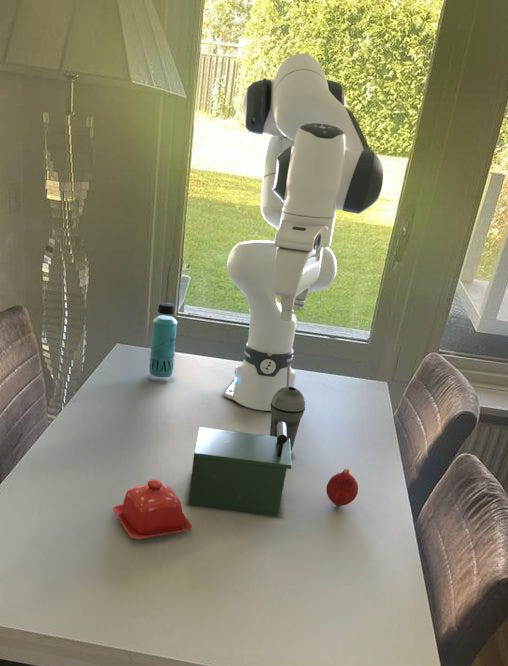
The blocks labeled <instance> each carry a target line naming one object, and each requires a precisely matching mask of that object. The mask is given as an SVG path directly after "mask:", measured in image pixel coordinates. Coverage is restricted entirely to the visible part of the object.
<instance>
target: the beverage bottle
mask: <svg viewBox="0 0 508 666" xmlns="http://www.w3.org/2000/svg"><path fill="white" fill-rule="evenodd" d="M157 312H158V313H159V314H162V315H157V316H156V317H155V318H154V319H153V320H152V335H151V348H150V354H149V355H150V357H149V368H148V371H149V375H150V376H153V377H155V378H170V377H172V376H173V373H174V370H175V369H174V368H175V365H174V364H175V356H176V355H175V350H176V345H177V344H176V343H177V342H176V341H177V325H178V321H177V320H176V319H175V318H174V317H173V316H171V315H173V314H174V315H175V304H173V303H170V302H160V303H159V304H158V308H157Z"/></svg>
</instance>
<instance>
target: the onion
mask: <svg viewBox="0 0 508 666" xmlns="http://www.w3.org/2000/svg"><path fill="white" fill-rule="evenodd" d="M325 491H326V494H327V498H328V499H329V500H330V502H332V503H333V505H334V506H336V507H343V506H347V505H349V504H351V503H352V502H353V501H355V499H356V498H357V495H358V492H359V485H358V482H357V480H356V478H355V477H354V476H353V475H352V474H351V473H350V469H349V468H348V467H345V468H343V471H341V472H338V473H336V474H334V475H332V476H331V478H329V480H328V482H327V484H326V490H325Z"/></svg>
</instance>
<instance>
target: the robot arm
mask: <svg viewBox="0 0 508 666" xmlns="http://www.w3.org/2000/svg"><path fill="white" fill-rule="evenodd" d="M244 93H245V94H244V96H243V99H242V103H241V117H242V120H243V123H244V127H245V129H246V130H247V132H248V133H250V134H253V135H255V136H260V137H262V136H263V135H265V136H269V138H268V141H267V145H266V149H265V155H264V160H263V169H262V178H261V180H262V181H261V182H262V183H261V201H260V203H261V204H260V211H261V215H262V217H263V219H264V220H265V221H266V222H267V223H268V224H269V225H271V226H272V227H273V228H276V229H277V231H276V233H275V235H274V240H273V241H272V240H259V239H257V240H249V241H242V242H238V243H237V244H236V245H234V246H233V248H232V249H231V251H230V252H229V255H228V258H227V264H226V267H227V274H228V277H229V278H230V281H231V282H232V283H233V284H234V285H235V287H237V288H238V290H239V291H240V292H241V293H242V295H243V296H244V298H245V300H246V302H247V305H248V309H249V327H248V328H249V329H248V336H247V342H246V344H245V348H244V350H243V361H242V362H241V363H239V364H238V365H236V366H235V368H234V378H233V381H232V383H231V384H230V386H229V387H228V388H227V389H226V391H225V393H224V397H225V398H227V399H230V400H232V401H234V402H236V403H238V404H239V405H242V406H243V407H246V408H249V409H252V410H256V411H257V410H258V411H268V412H271V405H270V404H271V402H272V398H273V396H274V395H275V393H276V392H277V391H278V390H280V389H281V388H284V387H286V385H287V367H288V366H290V375H289V387H294V388H295V385H296V384H295V383H296V377H297V375H296V372H295V370H294V369H293V368H292V363H293V359H294V352H295V351H294V349H293V346H294V341H295V335H296V330H297V317H296V315H295V314H294V313H295V310H296V311H302V310H304V309H305V306H306V302H307V297H308V295H309V293H315V292H319V291H320V292H321V291H324V290H327V289H328V288H329V287H330V286H331V285H332V283H333V281H334V279H335V277H336V275H337V270H338V269H337V268H338V264H337V260H336V259H337V258H336V256H335V254H334V252H333V251H332V250H331V248H329V247H330V246H331V244H332V238H333V233H334V227H335V221H336V214H337V212H336V211H343V212H346V213H351V214H356V215H359V214H362V213H363V212H364V211H366V210H368V209H369V208H371V207H372V206H374V204H375V203H376V202H377V201H378V199H379V198H380V195H381V192H382V188H383V184H384V183H383V182H384V168H383V163H382V162H381V160H380V158H379V157H378V155H377V154H376V152H375V151H374V150H373V149H371V147H370V146H369V143H368V141H367V139H366V137H365V135H364V133H363V131H362V129H361V126H360V125H359V122H358V120H357V118H356V116H355V114H354V113H353V112H352V111H351V110H350V108H348V107H347V98H346V95H345V89H344V87H343V85H342V84H341V83H340V82H337V81H334V80H330V79H327V77H326V73H325V71H324V70H323V67H322V66H321V64H320V63H319V61H318V60H317V59H316V58H315V57H314V56H312V55H311V54H307V53H296V54H295V53H294V54H293V55H290V56H289V57H287V58H286V59H284V61H283V62H282V63H281V64H280V66H279V67H278V70H277V72H276V75H275V77H274V79H269V78H268V79H267V77H264V78H262V79H261V80H260V79H259V80H257V81H254V82H252V83H251V84H250V85H249V86H248V87H247V88H246V91H245V92H244ZM278 297H279V298H280V302H278Z"/></svg>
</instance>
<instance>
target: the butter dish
mask: <svg viewBox="0 0 508 666" xmlns="http://www.w3.org/2000/svg"><path fill="white" fill-rule="evenodd" d="M112 511H113V512H114V514H115V516H116V517H117V519H118V520H119V522H120V524H121V525H122V526H123V528H124V530H125V531H126V533H127V535H128V536H129V537H130V538H131V539H133V540H142V539H148V538H153V537H158V536H159V537H160V536H165V535H171V534H177V533H183V532H187V531H191V530H192V529H193V525H192V524H191V522H190V520H189V519H188V517H187V516H186V515H185V514H184V512H183V506H182V502H181V500H180V498H179V496H178V495H177V493H176V492H175V491H174V490H173V489H172V488H171V487H169V486H167V485H165V484H163V482H162V481H161V480H159V479H156V478H155V479H154V478H153V479H149V480H148V481H147V484H143V485H137V486H134V487H131V488H130V489H128V490H127V491H126V493H125V496H124V499H123V502H122V504H117V505H115V506H113V507H112Z"/></svg>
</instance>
